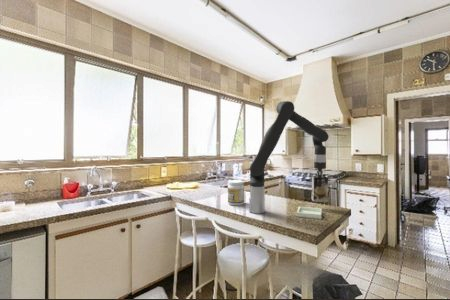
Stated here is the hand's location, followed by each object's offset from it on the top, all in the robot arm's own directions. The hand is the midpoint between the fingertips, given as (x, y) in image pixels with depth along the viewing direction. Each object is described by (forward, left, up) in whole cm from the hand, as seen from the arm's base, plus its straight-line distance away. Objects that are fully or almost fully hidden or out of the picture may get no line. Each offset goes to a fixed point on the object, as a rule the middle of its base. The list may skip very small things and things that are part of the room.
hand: (319, 185), depth 158 cm
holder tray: (-6, -14, -16) cm, 22 cm away
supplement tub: (-58, -5, -16) cm, 60 cm away
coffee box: (0, 0, -10) cm, 10 cm away
